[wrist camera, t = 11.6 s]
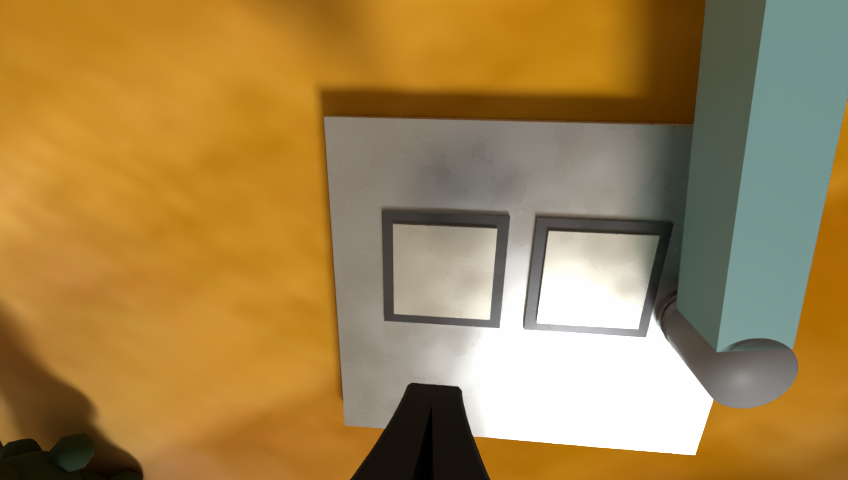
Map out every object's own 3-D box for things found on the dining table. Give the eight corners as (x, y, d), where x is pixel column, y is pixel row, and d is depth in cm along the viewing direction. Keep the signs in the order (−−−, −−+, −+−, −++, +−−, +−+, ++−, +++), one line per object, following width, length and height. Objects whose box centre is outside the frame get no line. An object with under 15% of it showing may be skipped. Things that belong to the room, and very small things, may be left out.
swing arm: (738, 355, 18) (789, 406, 15) (663, 358, 18) (699, 409, 15) (825, -176, 12) (939, -256, 9) (709, -154, 12) (783, -223, 9)
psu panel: (784, 125, 16) (820, 130, 15) (685, 438, 22) (703, 468, 20) (331, 114, 18) (317, 118, 16) (349, 411, 23) (340, 436, 22)
